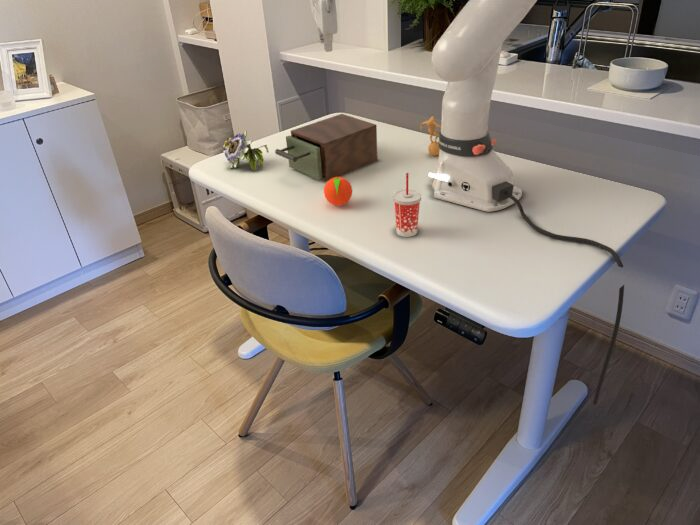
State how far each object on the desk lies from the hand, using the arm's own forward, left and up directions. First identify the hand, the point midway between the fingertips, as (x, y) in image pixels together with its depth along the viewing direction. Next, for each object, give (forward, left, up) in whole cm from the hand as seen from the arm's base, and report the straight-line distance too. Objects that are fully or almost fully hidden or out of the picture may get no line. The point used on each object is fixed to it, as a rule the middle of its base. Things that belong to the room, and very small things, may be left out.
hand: (325, 46), depth 136 cm
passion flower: (+21, +16, -32) cm, 42 cm away
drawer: (+2, +4, -31) cm, 32 cm away
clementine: (-18, +14, -32) cm, 40 cm away
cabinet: (+2, -2, -32) cm, 32 cm away
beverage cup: (-39, +12, -32) cm, 52 cm away
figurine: (-15, -24, -32) cm, 43 cm away
